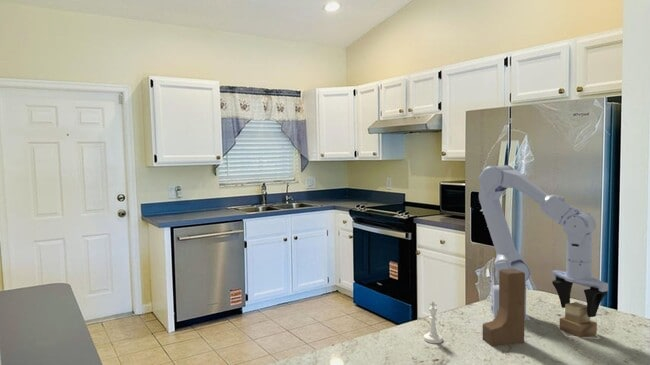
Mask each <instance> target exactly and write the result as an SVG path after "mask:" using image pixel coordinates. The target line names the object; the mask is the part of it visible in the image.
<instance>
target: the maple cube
mask: <svg viewBox="0 0 650 365" xmlns="http://www.w3.org/2000/svg"><path fill="white" fill-rule="evenodd" d="M564 309H565V311H564V314H565V315H564V317H565V319H566V320H569V321H572V322H574V323H577V324H582V323H587V322H590V320H591V317H588V315H587V304H584V303H580V302H577V301H575V302H570V303H568V304H565V308H564Z"/></svg>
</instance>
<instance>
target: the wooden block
mask: <svg viewBox="0 0 650 365" xmlns="http://www.w3.org/2000/svg"><path fill="white" fill-rule="evenodd" d="M498 285H499V310H498V314H497V316H496V317H495V318H494V317H493V318H494V319H492V320H491V321H488V322H483V323H482V341H483V342H485V343H486V344H488V345H489V346H490V347H500V346H509V345H511V346H512V345H517V344H525V321H526V320H525V273H524V272H521V271H519V270H516V269H502V270H499V283H498Z"/></svg>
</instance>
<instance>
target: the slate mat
mask: <svg viewBox="0 0 650 365" xmlns="http://www.w3.org/2000/svg"><path fill="white" fill-rule="evenodd" d="M555 326H556V327H557V328H558V330H560V324H556V325H555ZM560 332H561V333H562V334H563V335H564V337H565V338H576V339H577V338H578V339H580V337H577V336H575V335H568V334H567V332H565V331H562V330H560ZM594 336H596V337H592V336H591V337H589V336H585V337H581V339H592V340H593V339H594V340H595V339H596V340H602V338H601V337H600V336H599V335H598V334H594Z"/></svg>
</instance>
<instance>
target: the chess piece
mask: <svg viewBox="0 0 650 365" xmlns="http://www.w3.org/2000/svg"><path fill="white" fill-rule="evenodd" d="M429 305H430V307H429V308H428V310H429V312H430V316H429V317H428V319H429V320H430V327H429V328H430V330H429V331H428V332H427V333H425V334H423V339H422V340H423V341H424V342H427V343H430V344H441V343H442V342H444V337H443V335H441V334H439V333H438V331H437V326H436V320H438V317H437V316H436V315H437V311H438V308H437V306H438V305H437V303H435V300H432V301H431V302H429Z"/></svg>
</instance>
